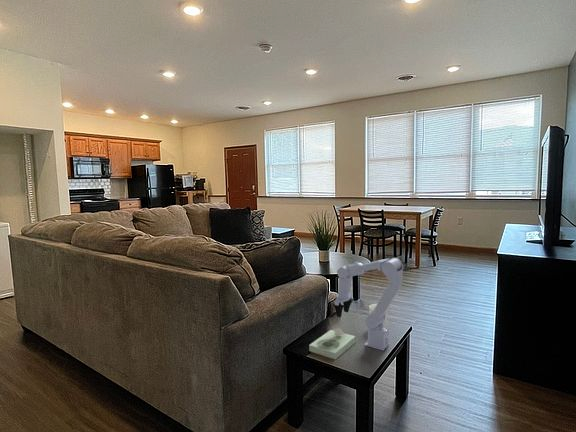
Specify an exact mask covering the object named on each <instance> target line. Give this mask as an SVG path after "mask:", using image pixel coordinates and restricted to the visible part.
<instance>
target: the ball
mask: <svg viewBox="0 0 576 432" xmlns="http://www.w3.org/2000/svg"><path fill="white" fill-rule="evenodd" d="M334 333H335V335H336V336H337V337H340V336H341V335H342V333H344V332H343V329H341V328H339V327H337V328H335V329H334Z"/></svg>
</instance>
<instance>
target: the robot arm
mask: <svg viewBox="0 0 576 432" xmlns="http://www.w3.org/2000/svg"><path fill="white" fill-rule="evenodd" d="M404 268H405V267H404V265H403V263H402V261H401V259H399V258H397V257H392V258H384V259H378V260H374V261H371V262H367V263H364V264H363V263H361V262H358V261H355V262H353V264H352V263H351V264H349V263H347V264H346V265H343V266H341V267H339V268H338V269H337V273H336V275H337V276H338V286H337V287H338V290H337V294H336V295H335V298H336V299H335V300H334V302H333V303H332V306H333V307H334V310H335V314H336V317H337V318H341V317H342V315H343V312H345V313H349V310H350V307H351V305H352V303H353V302H354V299H353V298H352V297H353V296H352V295H353V294H352V293H351V290H350V289H351V277H355V276H360V275H363V274H364V273H365V272H366V271H373V270H378V272H382V273H383V275H384V276H385V277H386V279H387V280H388V284H387V286H386V288H385V290H384V292H383V294H382V295H381V297H380V298H379V301H378V302H377V303H376V304H377V306H376V308H375V309H374V310H373V311H372V312H371V314H370V313H369V315H368V316H366V317H365V319H364V323H365V326H366V328H367V341H366V342H365V343H364V346H366V347H368V348H369V347H370V348H373V349H375V350H376V349H377V350H379V351H384V350H385V349H386V348H388V346H389V345H390V340H389V339H390V337H389V335H390V333H389V329H388V328H387V329H385V328H384V327H383V322H384V321H385V315H386V311H387V309H388V310H389V307H390V306H391V304H392V302H393V300H394V299H395V297H396V295H397V294H398V291H399V290H400V289H401V287H402V285H403V282H404V278H403V277H404V276H403V275H404V273H403V272H404Z"/></svg>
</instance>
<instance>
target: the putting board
mask: <svg viewBox="0 0 576 432" xmlns="http://www.w3.org/2000/svg"><path fill="white" fill-rule="evenodd" d="M334 331H335V329H334V330H333V329H330V330H328V331H327V332H325V333H324V334H323V335H321V336H320V337H318V338H317V339H315V340H313V342H311V343H310V344H309V345H308V347H309V348H308V349H309V350H308V351H309V352H311V353H313V354H317V355H321V356H323V357H326V358H329V359H331V360H337V359H338V358H339V357H340V356H341V355H342V354H344V353H345V352H346V351H347V350H348V349H350V348H351V347H352V346H353V345H355V343H356V342H357V338H356V337H357V336H356V335H352V334H348V333H344V332H343V333H342V335H341V336H340V337H337V336H336V335H335V333H334Z"/></svg>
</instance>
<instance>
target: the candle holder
mask: <svg viewBox="0 0 576 432" xmlns="http://www.w3.org/2000/svg"><path fill="white" fill-rule="evenodd" d="M377 304H378V303H372V304H369V305H368V311H369V315H370V314H371V312H372V311H373V310H374V309H375V308H376V306H377ZM388 311H389V308H388V309H387V311H386V315H385V321H384V322H383V327H384V328H385V329H387V330H388Z"/></svg>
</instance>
